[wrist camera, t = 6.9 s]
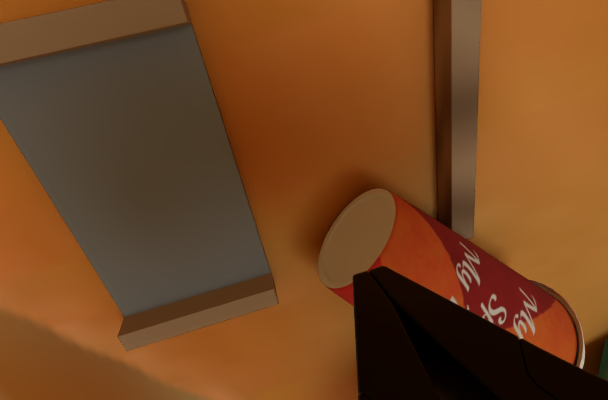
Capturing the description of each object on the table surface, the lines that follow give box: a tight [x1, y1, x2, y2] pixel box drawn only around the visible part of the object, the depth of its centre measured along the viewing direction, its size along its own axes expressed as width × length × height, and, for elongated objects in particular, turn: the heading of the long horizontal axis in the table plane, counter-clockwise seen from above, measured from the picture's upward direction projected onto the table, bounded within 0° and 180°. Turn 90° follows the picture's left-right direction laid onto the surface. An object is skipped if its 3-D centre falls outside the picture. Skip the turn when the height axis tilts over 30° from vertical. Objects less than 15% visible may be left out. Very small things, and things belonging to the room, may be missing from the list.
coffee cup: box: [318, 188, 585, 369], centre depth 20 cm, size 8×8×15 cm
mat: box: [0, 0, 279, 351], centre depth 17 cm, size 16×9×2 cm, turn 12°
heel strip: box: [433, 0, 481, 239], centre depth 18 cm, size 16×2×2 cm, turn 12°
